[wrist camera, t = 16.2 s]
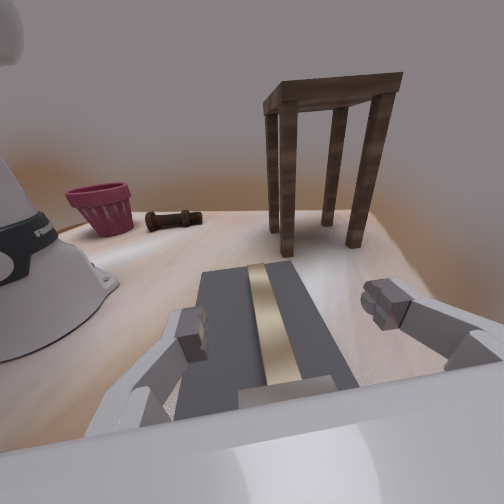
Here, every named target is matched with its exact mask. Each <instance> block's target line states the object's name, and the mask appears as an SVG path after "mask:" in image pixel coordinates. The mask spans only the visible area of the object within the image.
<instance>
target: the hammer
mask: <svg viewBox="0 0 504 504" xmlns="http://www.w3.org/2000/svg"><path fill="white" fill-rule="evenodd" d="M247 267H248V276H249V283H250V289H251V295H252V301H253V307H254V313H255V319H256V325H257V331H258V337H259V344H260V350H261V356H262V362H263V368H264V374H265V380H266V386H261V387H255V388H249V389H243V390H238V403H239V409H243V408H248V407H254V406H259V405H265V404H270V403H276V402H281V401H287V400H292V399H298V398H303V397H308V396H314V395H319V394H325V393H330V392H336V391H338V390H337V388H336V385H335V383H334V381H333V379H332V377H331V375H326V376H320V377H315V378H309V379H303V380H302V378H301V375H300V372H299V369H298V366H297V363H296V360H295V357H294V354H293V351H292V348H291V345H290V342H289V339H288V336H287V333H286V330H285V327H284V324H283V321H282V318H281V315H280V312H279V309H278V306H277V303H276V300H275V297H274V294H273V291H272V287H271V284H270V281H269V278H268V275H267V272H266V269H265V266H264V263H261V264H253V265H247Z"/></svg>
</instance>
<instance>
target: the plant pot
mask: <svg viewBox="0 0 504 504" xmlns="http://www.w3.org/2000/svg"><path fill="white" fill-rule="evenodd" d="M65 196H66V198H67V200H68V201H69V203H70V205H71V206H72V207H73V208H77V209H78V211H79V212H80V213H81V214H82V215H83V216H84V218H85V219H86V220H87V221H88V222H89V224H90V225H91V226H92V227H93V228H94V229H95V230H96V232H97V233H98V234H99V235H100V236H103V237H107V236H114V235H119V234H122V233H125V232H127V231H129V230H131V229H132V228H133V221H132V214H131V208H130V202H129V198H130V197H131V194H130V191H129V188H128V186H127V184H126V183H123V182H122V183H120V182H116V183H105V184H99V185H92V186H86V187H80V188H76V189H72V190H68V191H66V192H65Z"/></svg>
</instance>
